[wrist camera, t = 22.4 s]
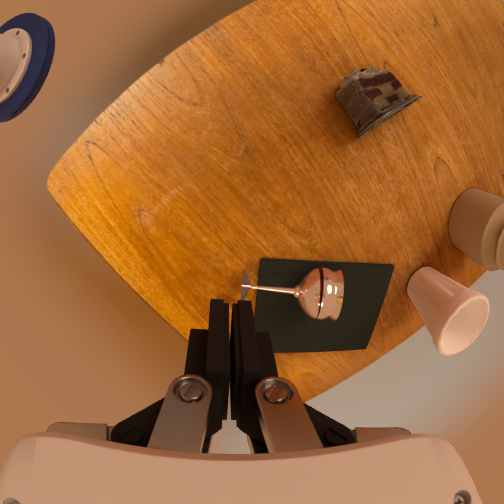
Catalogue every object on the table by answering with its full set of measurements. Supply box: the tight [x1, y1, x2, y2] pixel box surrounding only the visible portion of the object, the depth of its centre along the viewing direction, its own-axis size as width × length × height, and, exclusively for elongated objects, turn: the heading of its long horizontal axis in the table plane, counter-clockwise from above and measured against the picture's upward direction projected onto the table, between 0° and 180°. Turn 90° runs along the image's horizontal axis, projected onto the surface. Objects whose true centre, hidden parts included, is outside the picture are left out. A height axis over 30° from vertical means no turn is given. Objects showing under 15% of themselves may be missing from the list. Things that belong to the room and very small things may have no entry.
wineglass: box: [241, 267, 344, 320], centre depth 36 cm, size 7×7×12 cm
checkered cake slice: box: [336, 67, 422, 140], centre depth 29 cm, size 10×7×12 cm
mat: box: [254, 258, 394, 353], centre depth 42 cm, size 20×16×1 cm
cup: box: [407, 266, 489, 355], centre depth 36 cm, size 10×10×13 cm
